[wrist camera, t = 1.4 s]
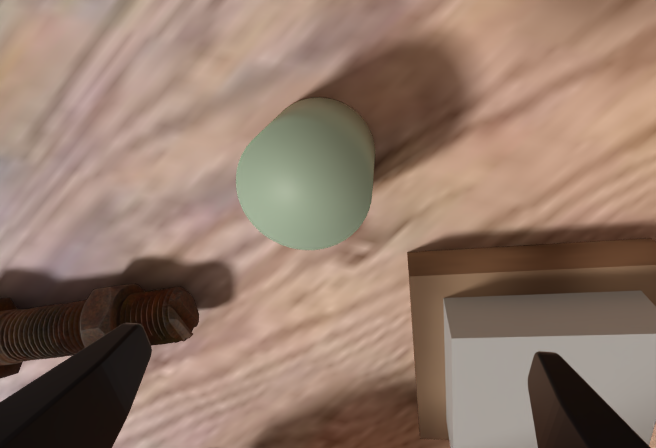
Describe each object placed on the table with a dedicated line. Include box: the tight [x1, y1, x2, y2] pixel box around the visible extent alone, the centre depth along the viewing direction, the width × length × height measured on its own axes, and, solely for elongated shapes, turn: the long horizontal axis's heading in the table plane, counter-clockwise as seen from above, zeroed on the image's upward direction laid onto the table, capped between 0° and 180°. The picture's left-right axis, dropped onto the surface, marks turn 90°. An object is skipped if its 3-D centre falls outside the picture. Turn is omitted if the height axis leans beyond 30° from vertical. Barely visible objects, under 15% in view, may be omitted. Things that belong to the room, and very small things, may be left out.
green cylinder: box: [236, 97, 375, 250], centre depth 19 cm, size 6×6×5 cm
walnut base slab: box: [407, 238, 656, 440], centre depth 24 cm, size 12×12×3 cm
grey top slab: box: [443, 290, 656, 448], centre depth 21 cm, size 9×9×3 cm
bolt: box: [0, 284, 199, 378], centre depth 26 cm, size 6×5×15 cm
